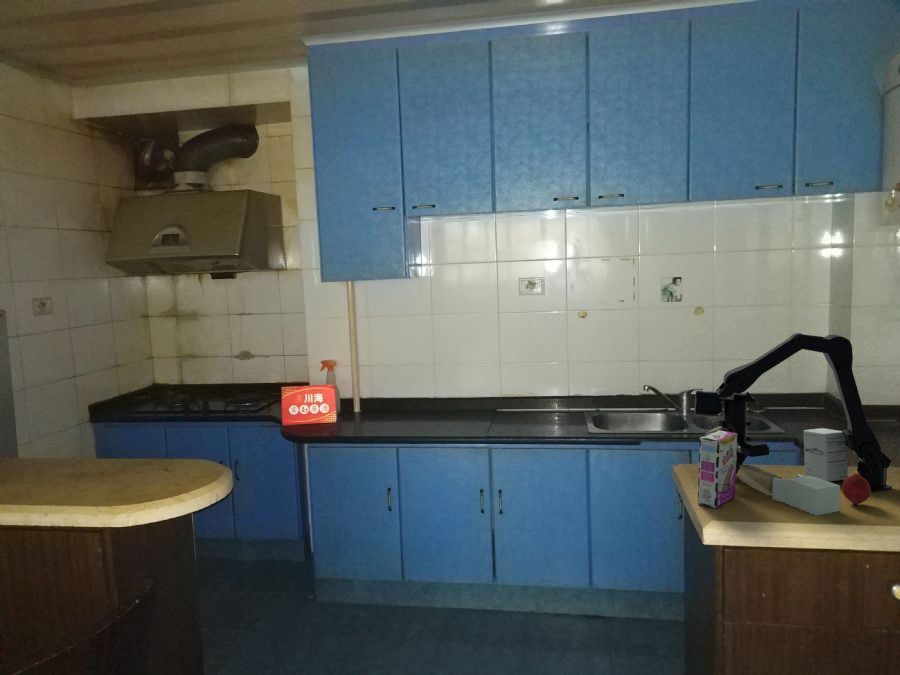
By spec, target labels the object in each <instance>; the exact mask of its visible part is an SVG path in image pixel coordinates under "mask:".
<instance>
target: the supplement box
mask: <svg viewBox="0 0 900 675" xmlns="http://www.w3.org/2000/svg"><path fill="white" fill-rule="evenodd" d="M803 451H804V452H803V453H804V454H803V455H804V456H803V457H804V477H805V476H813V477H816V478H819V479H822V480H825V481H828V482H834V481H835V482H836V481H843V480H845V479H846V478H848V477H849V469H848V468H849V465H848V447H847V446H846V445H845V437H844V435H843V433H842V431H841V430H836V429H831V428H824V427H823V428H822V427H821V428H813V429H805V430H803Z"/></svg>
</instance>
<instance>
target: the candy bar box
mask: <svg viewBox="0 0 900 675" xmlns="http://www.w3.org/2000/svg"><path fill="white" fill-rule="evenodd" d="M737 444H738V443H737V433H733V432H727V431H720V430H719V431H716V432H714V433H711V434H709V435H706V436H703V435H702V436H701V437H699V450H698V451H699V452H698V484H697V486H698V487H697V504H698V505H701V506H704V507H709V508H710V509H711V508H712V509H718V508H720V507H721V506H723V505H724V504H726V503H727V502H729V501H731V500H733V499H735V498H736V485H737V484H736V483H737V477H736V476H737V474H736V458H737Z"/></svg>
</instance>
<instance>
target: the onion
mask: <svg viewBox="0 0 900 675" xmlns="http://www.w3.org/2000/svg"><path fill="white" fill-rule="evenodd" d="M841 492H842V494H843V496H844V497H845V498H846V499H847V501H848V502H850V503H851V504H853V505H855V504H856V505H859V504H861V503H864V502H866V501H867V500H868V499H869V498H870V497H871V494H872V491H871V488H870V485H869V483H868V482H867V480H866V479H865V478H863V477H862V476H860V474H859V472H858V471H857V470H855V471H854V473H853V474H852V475H850V476H848V478H846V479H844V481H843V482H842V486H841Z"/></svg>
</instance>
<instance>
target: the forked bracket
mask: <svg viewBox="0 0 900 675" xmlns="http://www.w3.org/2000/svg"><path fill="white" fill-rule="evenodd" d="M840 493H841V485H839V484H837V483H834V482H832V481H825V480H822V479H819V478H816V477H813V476H805V475H803V474H799V473H798V474H796V477H793V478H788V479H783V478H782V479H779V478H773V491H772V495H771V496H772V497H771V500H772V499H774V500H773V501H775V500H777V501H776V502H779V501H781V502H780V503H783V502H785V503H784V504H787V505H788V504H789V506H791V507H793V506H794V507H793V508H796V507H797V508H796V509H798V508H799V509H798V510H801V511H803V510H804V512H806V513H808V512H809V513H808V514H811V515H813V514H814V515H813V516H821V515H826V514H832V512H833V513H837V511H839V512H840V498H841V496H840V495H841V494H840Z"/></svg>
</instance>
